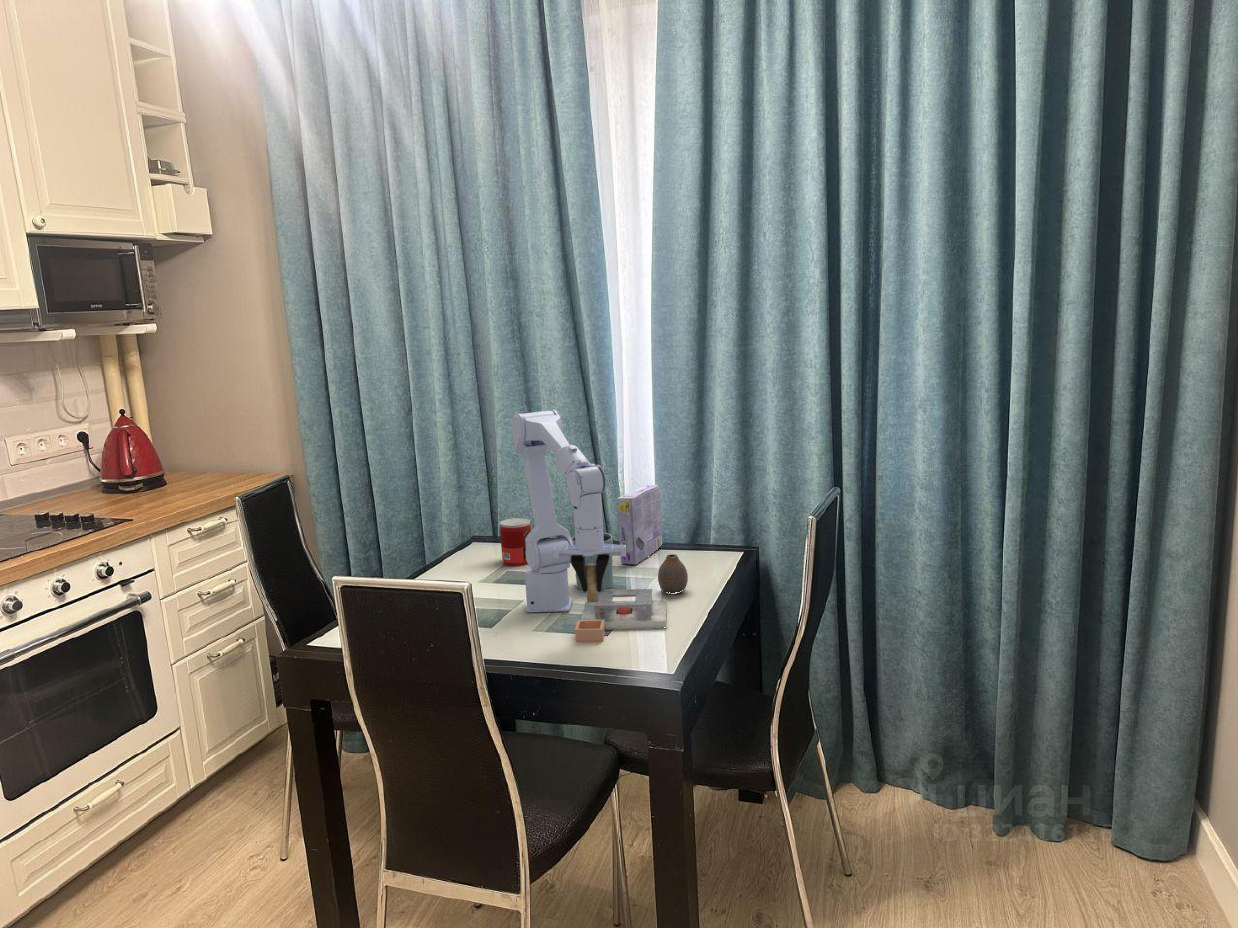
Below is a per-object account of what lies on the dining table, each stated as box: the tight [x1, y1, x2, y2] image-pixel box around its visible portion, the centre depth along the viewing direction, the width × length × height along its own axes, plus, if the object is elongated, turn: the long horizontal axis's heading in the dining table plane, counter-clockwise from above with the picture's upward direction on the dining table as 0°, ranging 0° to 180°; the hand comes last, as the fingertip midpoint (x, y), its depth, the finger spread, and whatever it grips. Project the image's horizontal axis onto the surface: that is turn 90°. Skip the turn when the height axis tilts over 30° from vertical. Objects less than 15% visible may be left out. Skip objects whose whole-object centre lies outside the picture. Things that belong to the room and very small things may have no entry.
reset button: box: [618, 607, 631, 614], centre depth 196 cm, size 3×3×2 cm
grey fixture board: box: [580, 588, 668, 631], centre depth 196 cm, size 18×13×4 cm
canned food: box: [499, 517, 532, 567], centre depth 240 cm, size 8×8×11 cm
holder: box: [574, 619, 606, 643], centre depth 187 cm, size 6×6×2 cm
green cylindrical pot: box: [570, 532, 614, 591], centre depth 218 cm, size 10×10×12 cm
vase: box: [657, 553, 689, 593], centre depth 211 cm, size 7×7×9 cm
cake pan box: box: [616, 484, 664, 566], centre depth 240 cm, size 19×5×18 cm, turn 154°
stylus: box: [585, 563, 599, 602], centre depth 186 cm, size 2×2×8 cm
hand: (592, 590), depth 186 cm, fingers closed on stylus, 2 cm apart
